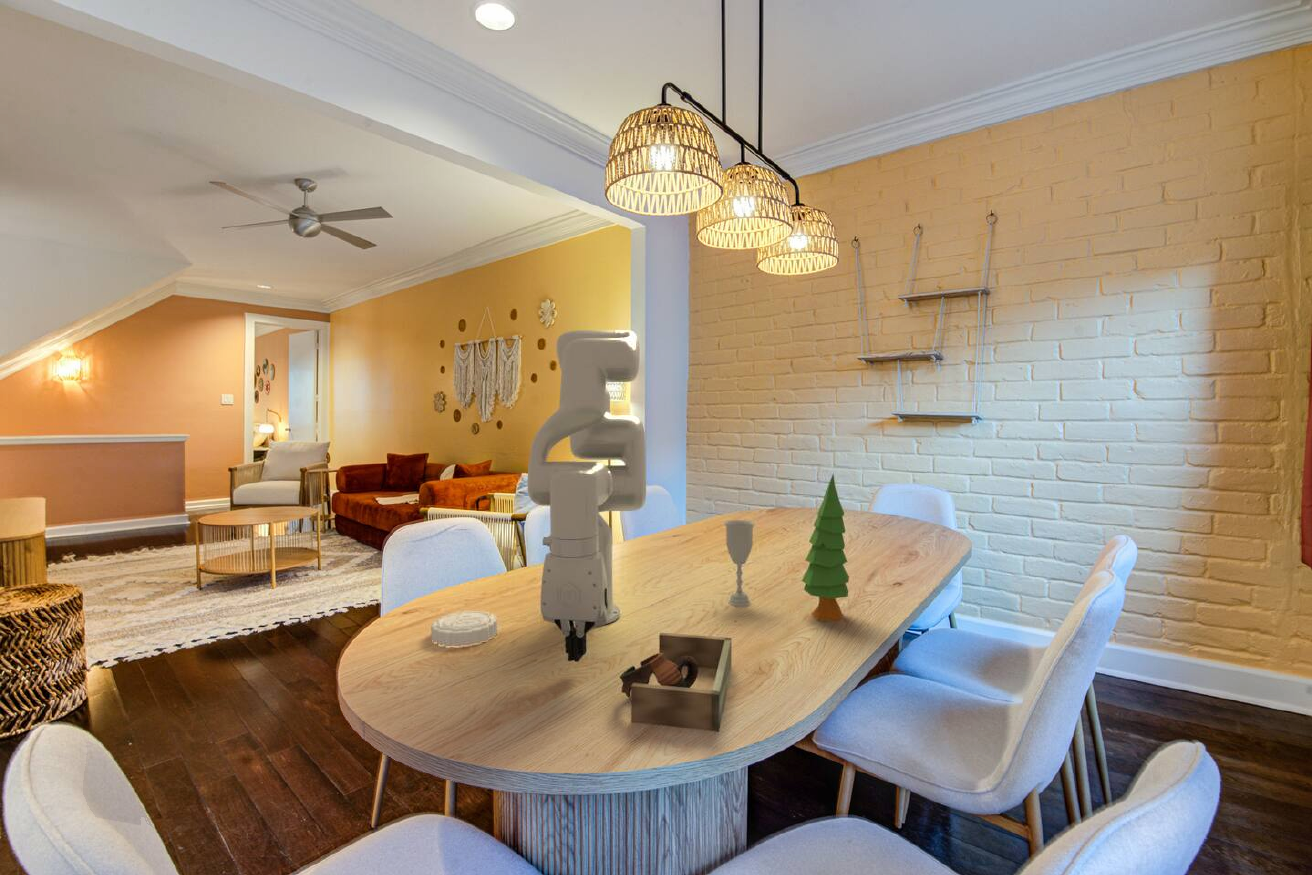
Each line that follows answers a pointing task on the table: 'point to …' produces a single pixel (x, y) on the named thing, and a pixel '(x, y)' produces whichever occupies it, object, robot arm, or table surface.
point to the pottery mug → (661, 672)
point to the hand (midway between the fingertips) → (576, 657)
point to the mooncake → (464, 628)
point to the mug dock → (681, 702)
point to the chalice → (739, 554)
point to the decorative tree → (827, 558)
